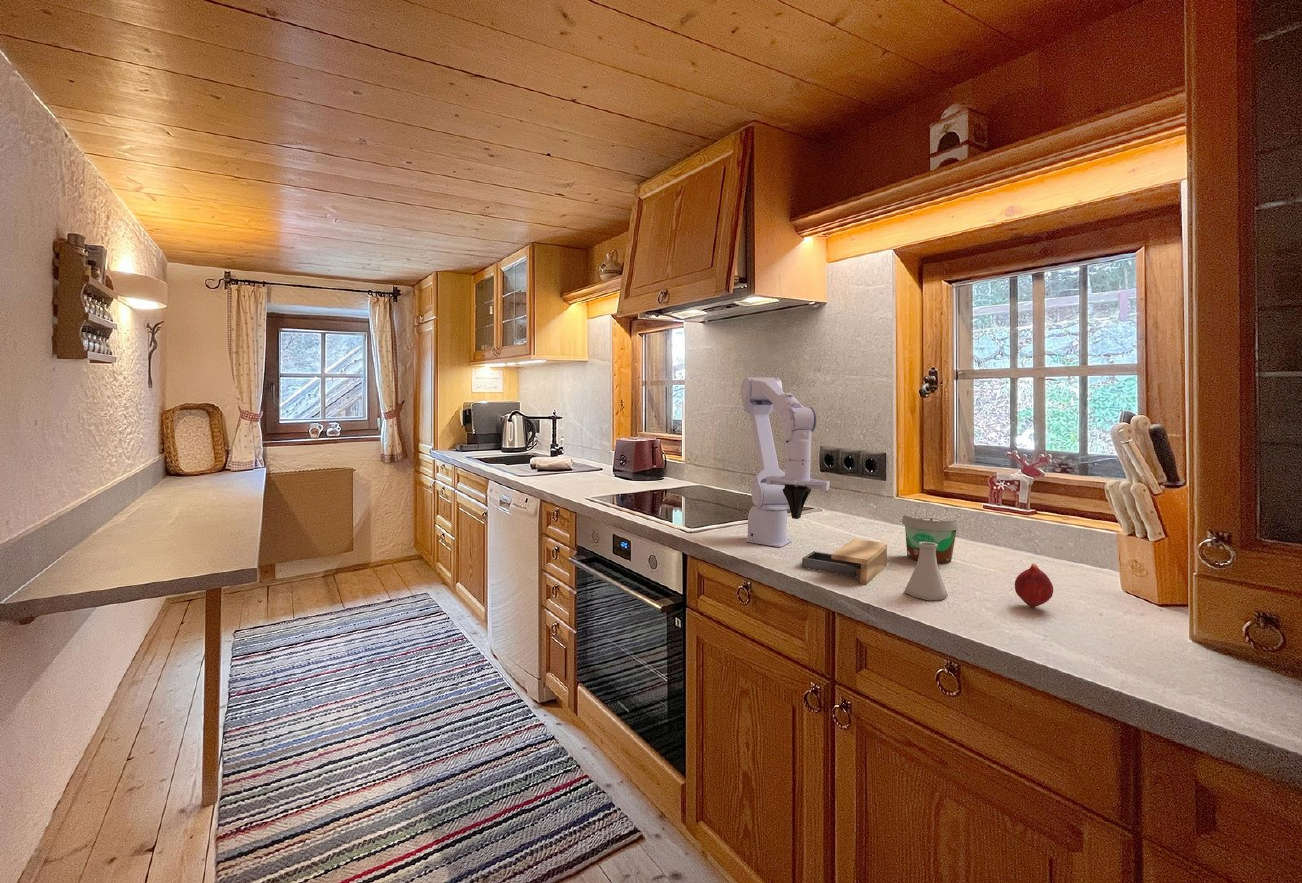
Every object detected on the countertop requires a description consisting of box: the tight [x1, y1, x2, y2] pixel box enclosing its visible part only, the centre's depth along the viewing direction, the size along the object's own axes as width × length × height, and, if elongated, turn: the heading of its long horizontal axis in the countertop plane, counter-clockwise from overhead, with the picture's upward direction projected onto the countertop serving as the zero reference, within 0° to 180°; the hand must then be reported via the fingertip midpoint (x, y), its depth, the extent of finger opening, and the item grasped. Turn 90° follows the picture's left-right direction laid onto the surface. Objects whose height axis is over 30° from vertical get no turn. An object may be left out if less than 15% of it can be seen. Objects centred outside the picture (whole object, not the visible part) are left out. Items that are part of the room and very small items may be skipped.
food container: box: [901, 513, 961, 565], centre depth 136 cm, size 12×6×10 cm, turn 62°
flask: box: [903, 542, 949, 601], centre depth 113 cm, size 7×7×10 cm
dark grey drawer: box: [801, 551, 861, 578], centre depth 130 cm, size 12×7×2 cm, turn 55°
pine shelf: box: [831, 538, 888, 585], centre depth 128 cm, size 7×16×5 cm, turn 145°
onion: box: [1014, 562, 1054, 608], centre depth 107 cm, size 6×6×8 cm
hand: (796, 518), depth 138 cm, fingers closed
